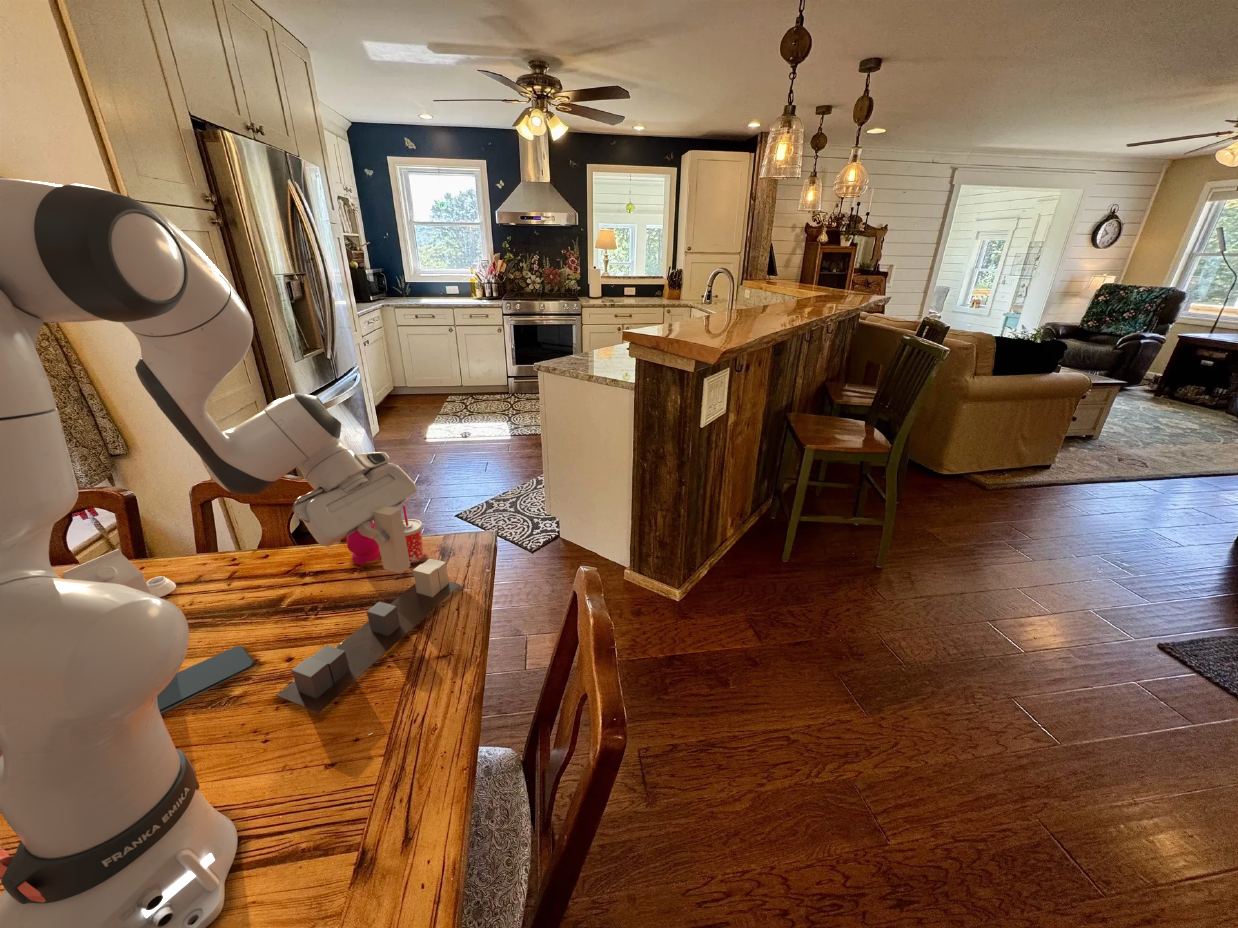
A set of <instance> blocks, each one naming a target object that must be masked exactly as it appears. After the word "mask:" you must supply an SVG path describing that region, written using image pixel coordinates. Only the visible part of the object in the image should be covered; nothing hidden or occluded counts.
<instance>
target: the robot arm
mask: <svg viewBox="0 0 1238 928" xmlns="http://www.w3.org/2000/svg"><path fill="white" fill-rule="evenodd" d="M101 321H108V322H114V323H122V324H123V326H125V327H126V328H127V329H128V330H129V331H130V332H131V333H132V334H133V335H134V337H136V339H137V342H138V344H139V347H140V352H141V353H140V355H141V356H140V358H139V359H138V361H137V363H136V365H135V366H134V369H135V372H136V375H137V377H138V380H139V381H140V383H141V385H142V386H143V388H144V389H145V391H146V392H147V393H148V394H149V395H150V397H151V399H153V401H154V402H155V404H156V405H157V407H158V408H159V409H160V411H161V412H162V413H163V415H165V417H166V418H167V419H168V420H169V422H170V423H171V424H172V425H173V426H174V428H175V429H176V430H177V431H178V432H179V434H181V436H182V438H184V440H185V441H186V442H187V443H188V444H189V446H191V447H192V448H193V450H194V451H195V452H196V454H197V455H198V456H199V457H200V460H201V463H202V465H203V466H204V468H205V471H206V472H207V473H208V475H209V476H210V478H211V479H212V480H213V481H214V482H215V483H216V484H217V485H218V486H220V487H221V488H222V489H224V490H225V491H227V492H229V493H231V494H232V495H237V496H255V495H256V496H257V495H262V494H263V493H264V492H265V491H267V490H268V489H269V488H270V487H272V486H273V485H274V484H276V483H277V482H278V481H279V480H280V479H281V478H283V477H284V476H287V474H288V473H290V472H292V471H293V470H295V469H296V468H297V469H298V470H299V471H300V473H301V474H302V477H303V479H304V480H305V482H307V484H308V485H309V486H310V487H311V488H312V489H313V490H312V491H310V492H308V493H306V494H303V495H300V496H299V497H297V498H296V499H295V502H294V503H293V505H292V512H293V513H294V515H295V516H296V517H297V518H298V519H299V520H300V521H302V522H303V523H304V525H305V527H306V528H307V530H308V532H309V533H310V535H311V536H312V537H313V539H315V542H317V544H319V545H320V546H323V547H328V548H329V547H332V546H333V545H335V544H336V543H338V542H340V541H341V540H343V539H345V538H347V536H348V535H350V534H351V533H353V532H355V531H356V530H357V531H358V532H359V533H360V534H361V535H363V536H366V537H369V538H371V539H374V540H375V541H376V542H377V543H378V544H379V545H383V544H384V543H386V542H387V541H388V540H389V539H390V536H389V535H388V534H387V533H386V532H385V531H384V530H383V531H382V532H380V531H377V530H375V529H373V528H371V526H372V524H371V523H370V522H372V521H373V522H374V520H373V517H374V514H373V512H372V511H373V510H375V509H377V508H378V507H380V506H382V505H384V506H389V507H393V508H398V507H399V506H400V505H402V504H404V503H407V501H409V500H411V498H412V497H413V496H414V495H415V494H416V493H417V491H418V490H417V489H418V488H417V485H416V483H415V482H414V480H413V479H412V478H411V477H410V476H409V475H408V474H407V473H406V472H405V471H404V470H403V469H402V468H401V466H399V465H397V464H395V463H394V462H389V461H390V460H391V458H390V456H389V455H388V454H387V453H386V452H385V451H374V452H356V453H355V452H354V451H353V449H351V448H350V447H349V446H348V445H346V444H344V443H343V442H342V440H340V437H341V432H342V423H341V421H340V420H339V419H337V418H336V417H335V416H334V415H332V414H331V412H330V411H329V410H328V409H327V408H326V406H325V405H324V403H323V401H322V400H321V399H320V398H319V397H318V396H316V395H311V394H308V393H307V394H306V393H300V392H299V393H298V392H296V393H293V394H289V395H287V396H284V397H280V398H278V399H276V400H273V401H272V402H269V404H267V405H266V406H265V407H264V408H263V409H262V411H259V412H258V413H256V414H255V415H253V416H251V417H250V418H248V419H246V420H245V421H243V422H242V423H240V424H238V425H236V426H234V427H233V428H229V429H227V430H224V431H222V430H221V429H220V428H219V426H218V425H217V424H216V422H215V420H214V419H213V418H212V416H211V415H210V414H209V412H208V410H207V405H208V402H209V400H210V398H211V396H212V395H213V394H214V392H215V391H216V389H217V388H218V387H219V386H220V384H221V383H223V381H224V380H225V379H226V378H227V377H228V376H229V375H230V374H231V373H232V372H233V371H234V370H235V369H236V368H237V367H239V365H240V364H241V363H242V362H243V361H244V359H245V358H246V356H247V354H248V352H249V350H250V348H251V345H252V341H253V337H254V323H253V318H252V316H251V314H250V311H249V310H248V309H247V306H246V305H245V303H244V302H243V300H242V299H241V297H240V295H239V294H238V293H237V291H236V290H235V288H234V287H233V286H232V285H231V282H229V280H228V279H227V278H226V277H225V275H224V274H223V273H222V272H221V270H220V269H219V268H218V267H217V266H216V265H215V263H213V261H212V260H211V259H210V257H208V256H207V255H206V254H205V253H204V251H202V249H201V248H199V246H198V245H197V244H196V243H195V242H193V240H192V239H191V238H190V237H189V236H187V235H186V233H184V231H182V230H181V229H180V227H178V226H177V225H176V224H174V222H173V221H171V219H169V218H168V217H166V215H165V214H164V213H162V212H160V210H157V209H156V208H155V207H153V206H151V205H150V204H148V203H147V204H146V203H144V202H142V201H139V200H136V199H134V198H132V197H129V196H127V195H124V194H122V193H119V192H115V191H112V190H110V189H104V188H101V187H98V186H97V187H95V186H93V185H87V184H80V183H69V184H63V185H62V184H55V183H49V182H42V181H35V180H28V179H27V180H25V179H17V178H9V177H4V176H0V748H1V753H2V754H1V755H0V814H1V816H2V817H3V818H4V820H5V821H6V822H7V824H8V825H9V827H10V828H11V830H12V831H13V832H14V834H15V835H16V837H17V838H18V839H19V843H18V846H17V849H16V851H15V853H14V855H10V853H9V852H8V851H7V850H5V849H4V848H0V883H1V885H2V886H3V888H4V890H3V892H2V893H1V895H0V928H207V927H209V926H210V924H212V923H213V922H214V921H215V920H216V919H217V918H218V917H219V915H220V914H221V913H222V910H223V908H224V904H225V892H226V890H225V889H226V888H225V883H226V880H227V877H228V874H229V872H230V870H231V867H232V865H233V863H234V859H235V858H236V854H237V850H238V843H239V836H238V835H239V834H238V830H237V828H236V825H235V823H234V822H233V821H232V819H230V818H229V817H228V816H226V815H225V814H223V813H221V812H220V811H218V810H217V809H216V808H214V807H213V805H211V804H210V802H209V801H208V800H207V799H206V798H205V796H204V795H203V794H202V792H201V791H200V790H199V789H200V783H199V781H198V779H197V773H196V770H195V768H194V766H193V764H192V763H191V761H190V759H189V758H188V756H187V755H186V754H185V753H184V751H183V750H182V749H178V748H176V746H175V744H174V742H173V739H172V737H171V734H170V732H169V731H168V727H167V726H166V724H165V721H164V719H163V717H162V714H160V711H159V708H158V702H157V696H158V695H159V694H160V693H161V692H162V691H163V690H164V689H165V688H166V686H167V685H168V684H169V683H170V682H171V681H172V679H173V678H174V677H175V675H176V674H177V673H178V672H180V669H181V667H182V665H183V663H184V661H185V659H186V656H187V653H188V649H189V643H190V627H189V623H188V620H187V617H186V615H185V614H184V612H183V611H182V609H180V607H178V606H177V605H176V604H175V603H173V602H171V601H169V600H166V599H164V598H162V597H156V596H154V595H151V594H149V593H146V592H143V591H140V590H137V589H134V588H131V587H128V586H125V585H120V584H113V583H103V582H93V581H82V580H72V579H65V578H62V577H61V576H59V574H57V573H56V571H55V570H54V569H53V566H52V565H51V561H50V543H51V542H50V541H51V535H52V531H53V528H54V526H55V524H56V523H57V522H59V521H60V520H61V519H63V518H65V516H66V515H68V514H69V513H70V512H71V511H72V510H73V508H74V507H75V505H76V503H77V501H78V498H79V487H78V482H77V479H76V475H75V471H74V467H73V463H72V460H71V455H70V451H69V448H68V445H67V441H66V437H65V433H64V429H63V426H62V421H61V417H60V415H59V411H58V408H57V403H56V401H55V397H54V393H53V389H52V386H51V384H50V381H49V378H48V376H47V373H46V370H45V367H44V365H43V363H42V360H41V358H40V356H39V353H38V351H37V343H38V342H37V341H38V337H39V334H40V331H41V328H42V326H43V325H44V323H84V322H85V323H86V322H101ZM403 527H404V530H405V529H406V526H405V525H404V523H403ZM194 921H195V922H194ZM193 922H194V923H193ZM192 923H193V924H192Z"/></svg>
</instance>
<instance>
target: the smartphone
mask: <svg viewBox="0 0 1238 928" xmlns="http://www.w3.org/2000/svg"><path fill="white" fill-rule="evenodd" d="M254 666H255V661H254V659H253V658H252V656H250V654H249V653H248V651H246V649H245V647H243V646H241V645H238V646H234V647H231V648H229V649H227V650H224V651H223V652H221V653H220V652H219V653H217V654H216V655H214V656H211V657H209V658H207V659H204V660H202V661H200V662H198V663H196V664H194V665H191V666H189V667H186V668H184V669H183V670H179V671H178V672H177V674H176V675H175V677H174V678H173V679H172V681H171V682H170V683H169V684H168V685H167V686H166V688H165V689H164V690H163V691H162V692H161V693H160V694H159V695H158V696H157V702H158V708H159V711H160V714H161V715H164V714H166V713H167V712H169V711H171V710H173V709H175V708H176V707H179V706H181V705H183V704H185V703H188V702H189V701H191V700H192V699H194V698H196V697H198V696H200V695H202V694H204V693H206V692H208V691H209V690H211V689H213V688H215V687H217V686H219V685H221V684H223V683H224V682H227V681H229V680H231V679H232V678H235V677H237V676H238V675H241V674H242V673H244V672H246V671H248V670H250V669H252V668H253V667H254Z"/></svg>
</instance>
